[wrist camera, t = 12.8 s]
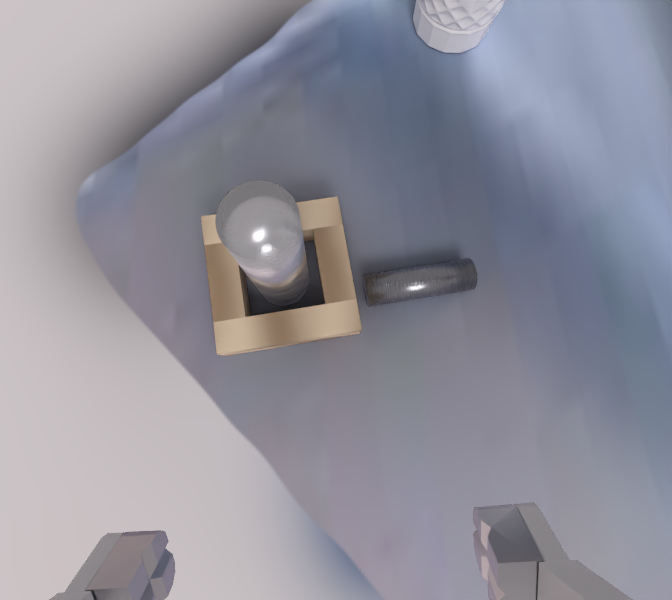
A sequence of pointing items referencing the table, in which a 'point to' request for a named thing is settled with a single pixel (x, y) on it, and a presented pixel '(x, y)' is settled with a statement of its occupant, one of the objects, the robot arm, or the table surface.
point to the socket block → (291, 325)
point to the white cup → (454, 22)
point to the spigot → (265, 239)
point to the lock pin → (419, 282)
